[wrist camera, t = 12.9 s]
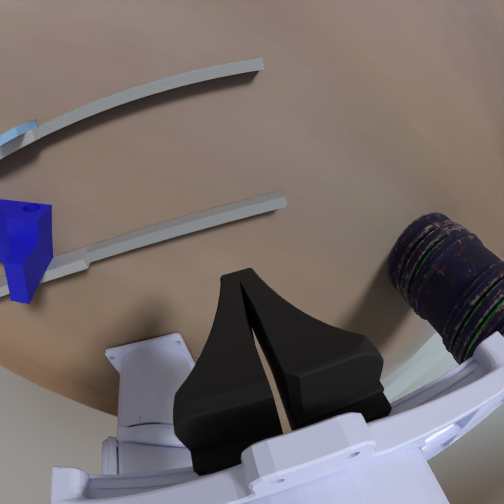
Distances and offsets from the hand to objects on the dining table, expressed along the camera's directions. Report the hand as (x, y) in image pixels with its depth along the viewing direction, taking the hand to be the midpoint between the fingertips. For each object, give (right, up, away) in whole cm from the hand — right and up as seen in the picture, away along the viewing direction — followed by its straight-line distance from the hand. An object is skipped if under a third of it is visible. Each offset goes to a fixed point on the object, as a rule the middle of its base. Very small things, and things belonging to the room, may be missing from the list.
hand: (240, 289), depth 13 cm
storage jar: (+19, +2, +17) cm, 25 cm away
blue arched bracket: (-20, +4, +5) cm, 21 cm away
